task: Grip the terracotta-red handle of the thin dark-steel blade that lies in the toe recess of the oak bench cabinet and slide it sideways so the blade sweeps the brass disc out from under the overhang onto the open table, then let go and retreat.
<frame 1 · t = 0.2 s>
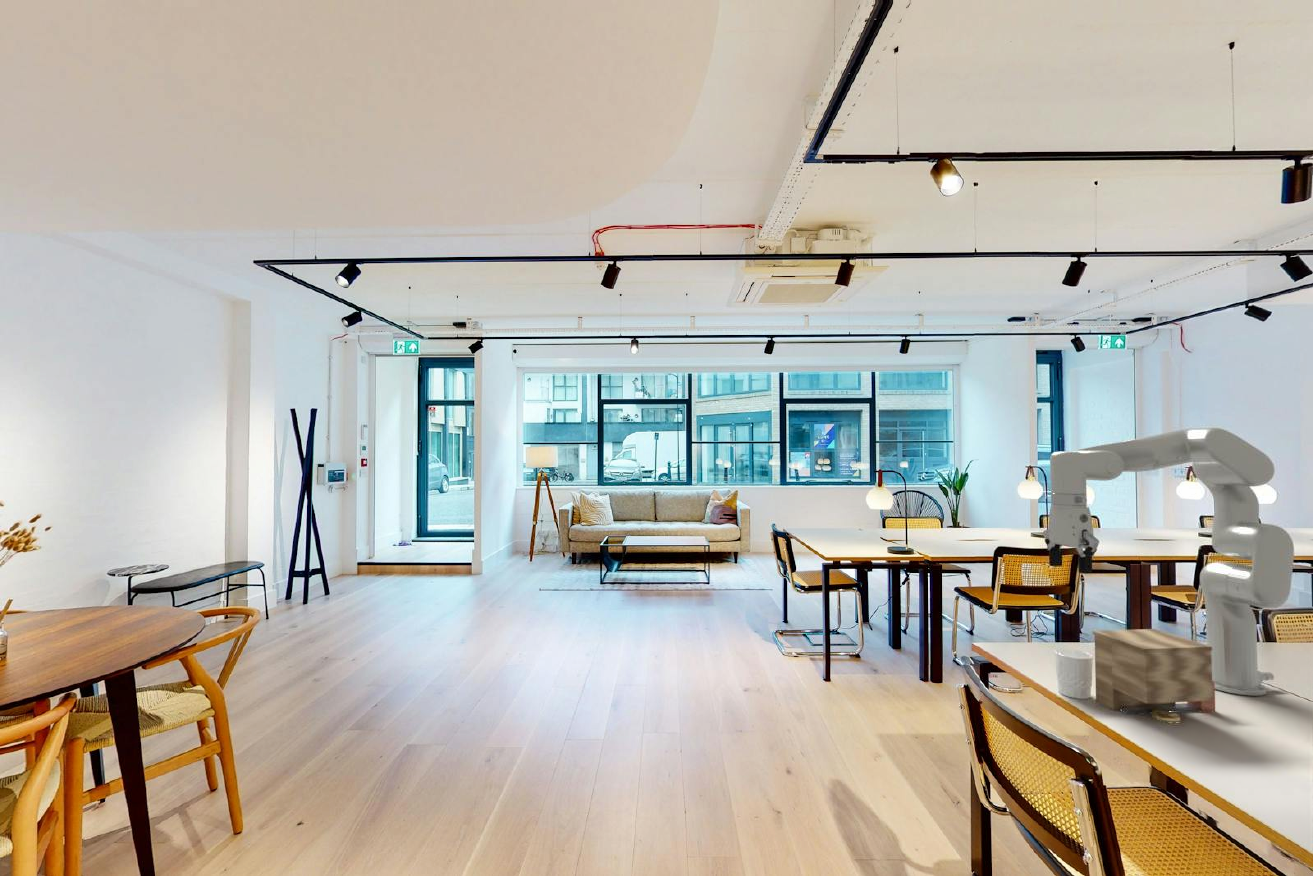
hand: (1070, 569, 157), 31 cm above the table, tool pointing down, fingers open, 9 cm apart
brass token: (1165, 719, 141), on the table
white cup: (1074, 695, 156), on the table
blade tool: (1201, 708, 147), on the table
oak bench cabinet: (1152, 712, 145), on the table
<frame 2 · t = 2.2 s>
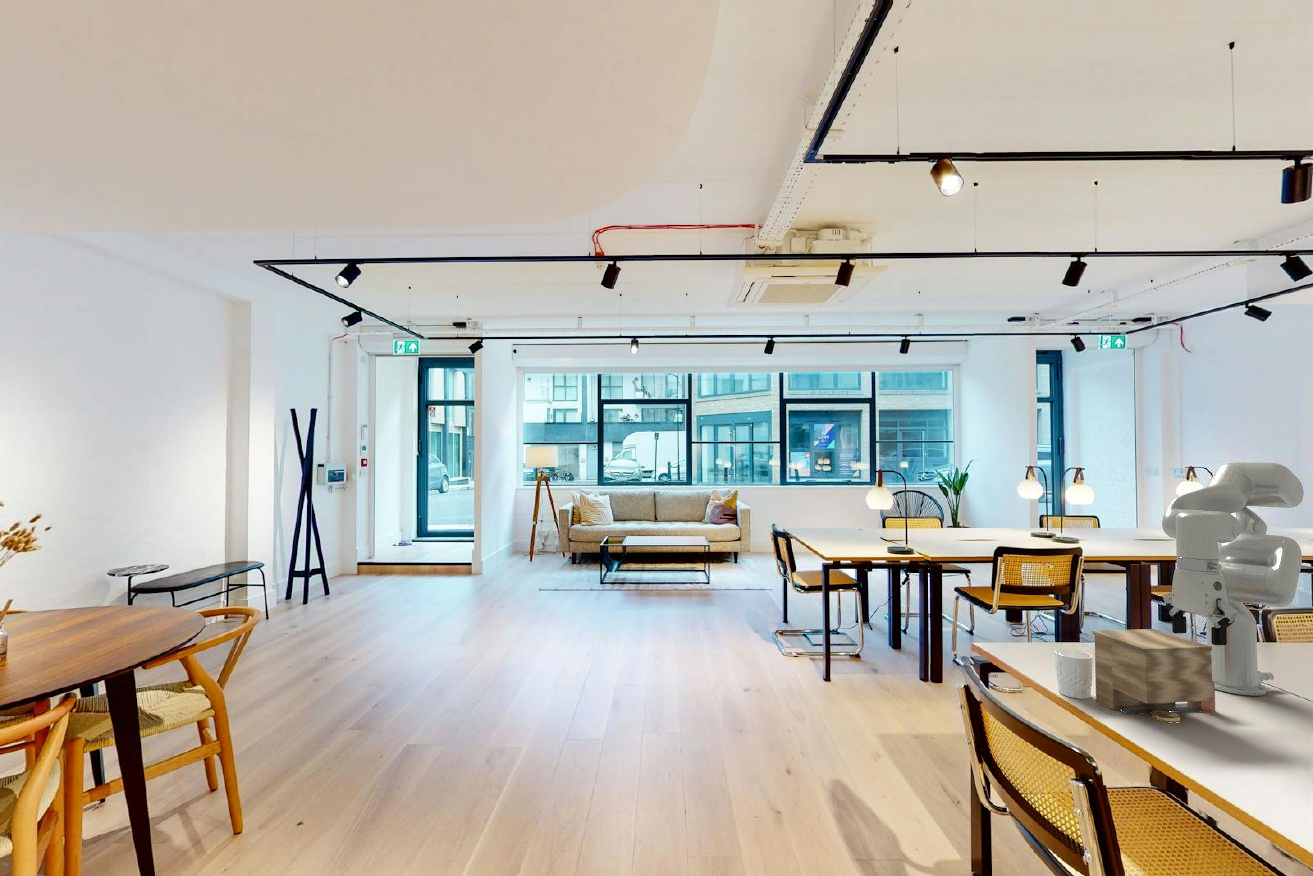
hand: (1198, 638, 147), 16 cm above the table, tool pointing down, fingers open, 9 cm apart
nothing on the table moved.
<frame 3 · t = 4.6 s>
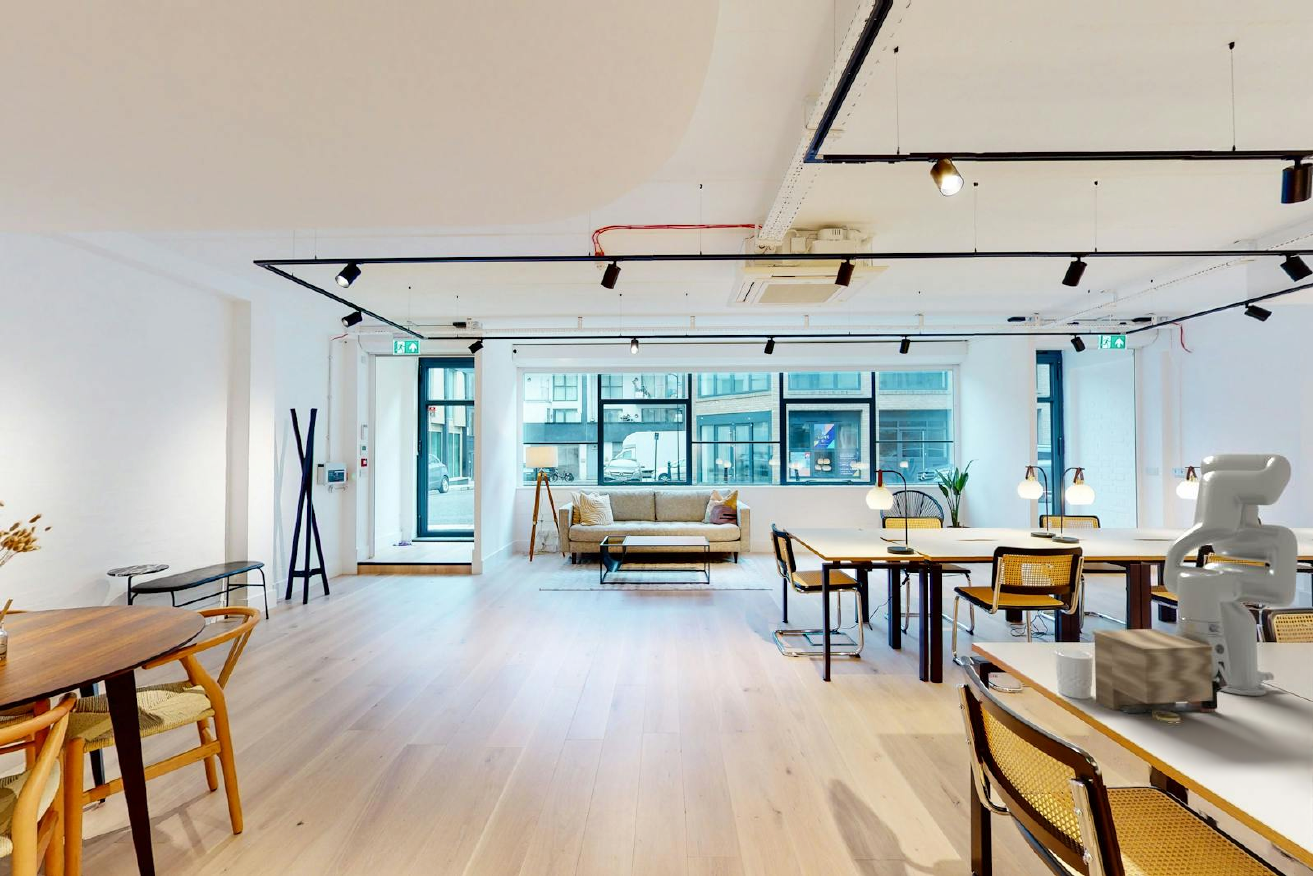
hand: (1201, 704, 147), 1 cm above the table, tool pointing down, fingers closed on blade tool, 3 cm apart
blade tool: (1201, 708, 147), on the table, touching gripper
everything else where it was.
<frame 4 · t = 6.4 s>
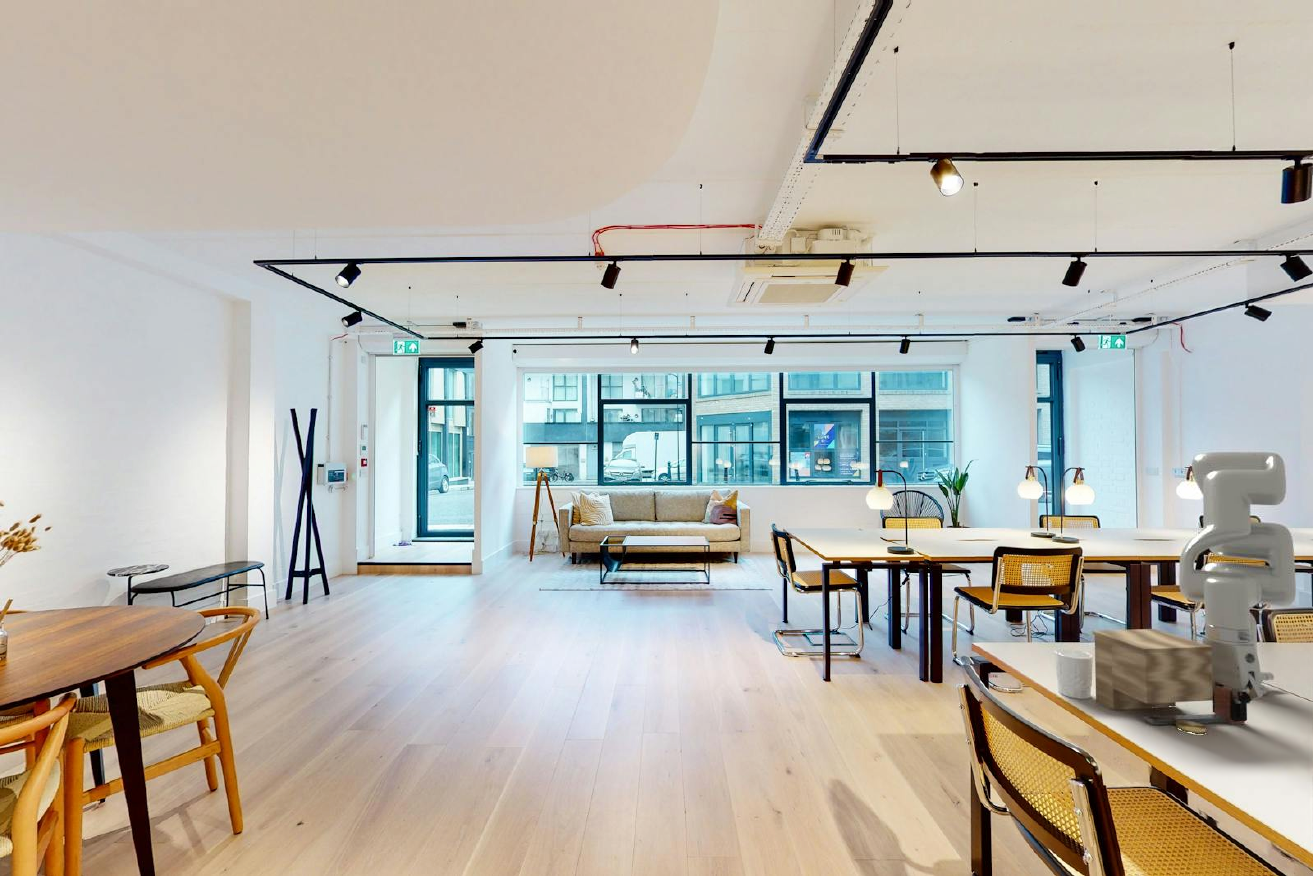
hand: (1229, 715, 140), 1 cm above the table, tool pointing down, fingers closed on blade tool, 3 cm apart
brass token: (1190, 730, 135), on the table, touching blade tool
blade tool: (1229, 720, 140), on the table, touching brass token, gripper
everything else where it was.
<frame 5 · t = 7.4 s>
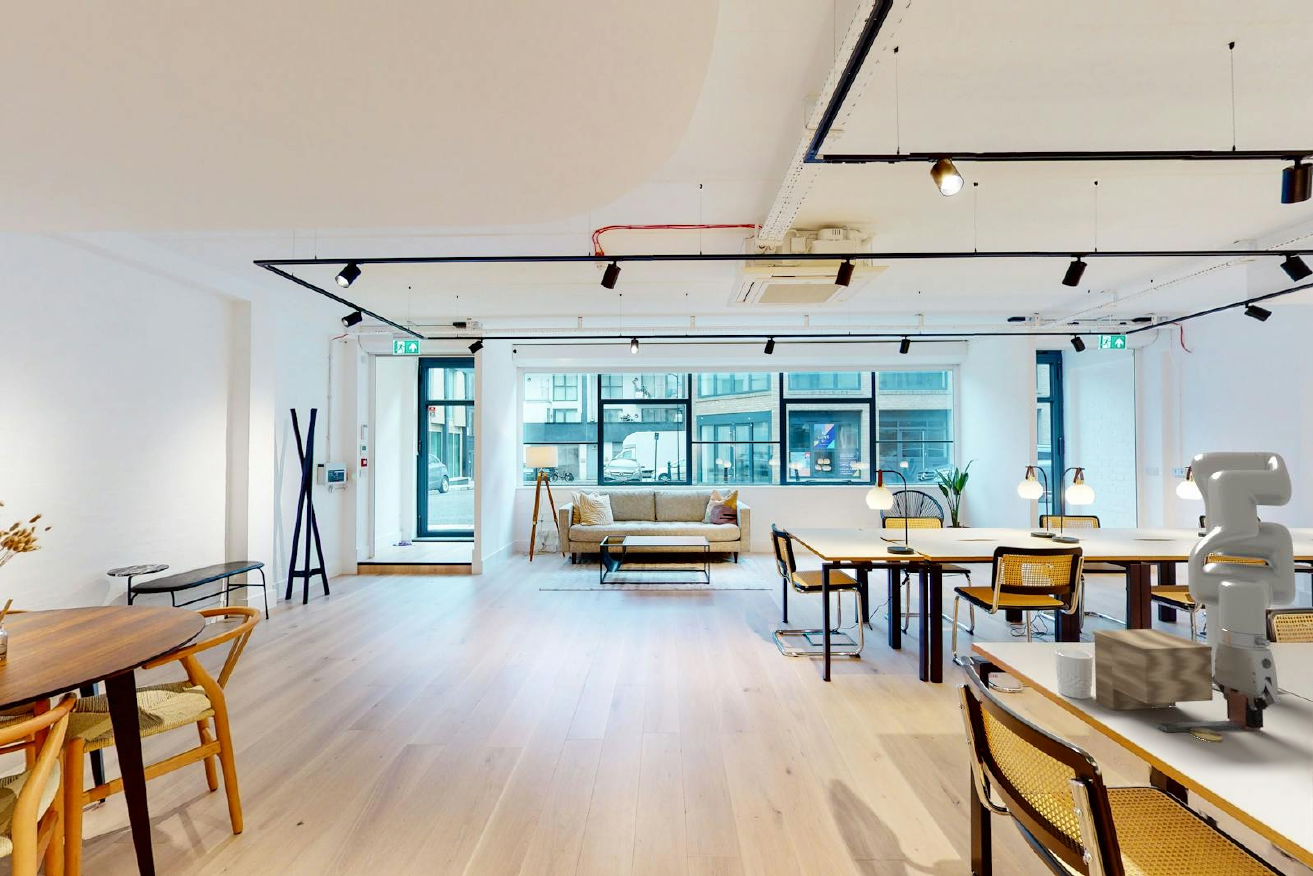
hand: (1244, 722, 137), 1 cm above the table, tool pointing down, fingers closed on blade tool, 3 cm apart
brass token: (1206, 738, 132), on the table
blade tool: (1244, 727, 137), on the table, touching gripper
everything else where it was.
when the fingers open (1 cm above the table, at t = 8.4 s): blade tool stays where it is, on the table.
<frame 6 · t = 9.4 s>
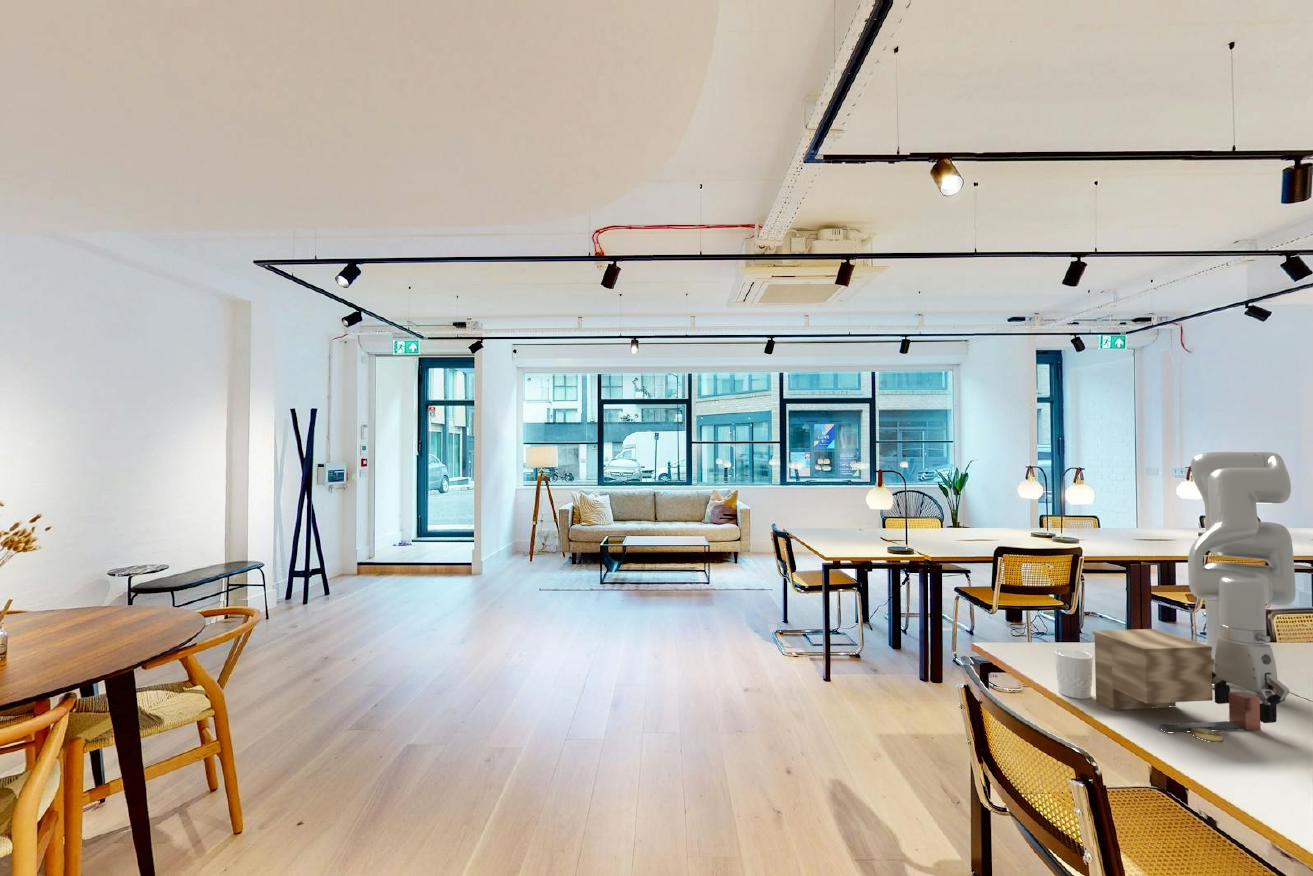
hand: (1244, 712, 137), 3 cm above the table, tool pointing down, fingers open, 9 cm apart
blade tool: (1244, 727, 137), on the table
everything else where it was.
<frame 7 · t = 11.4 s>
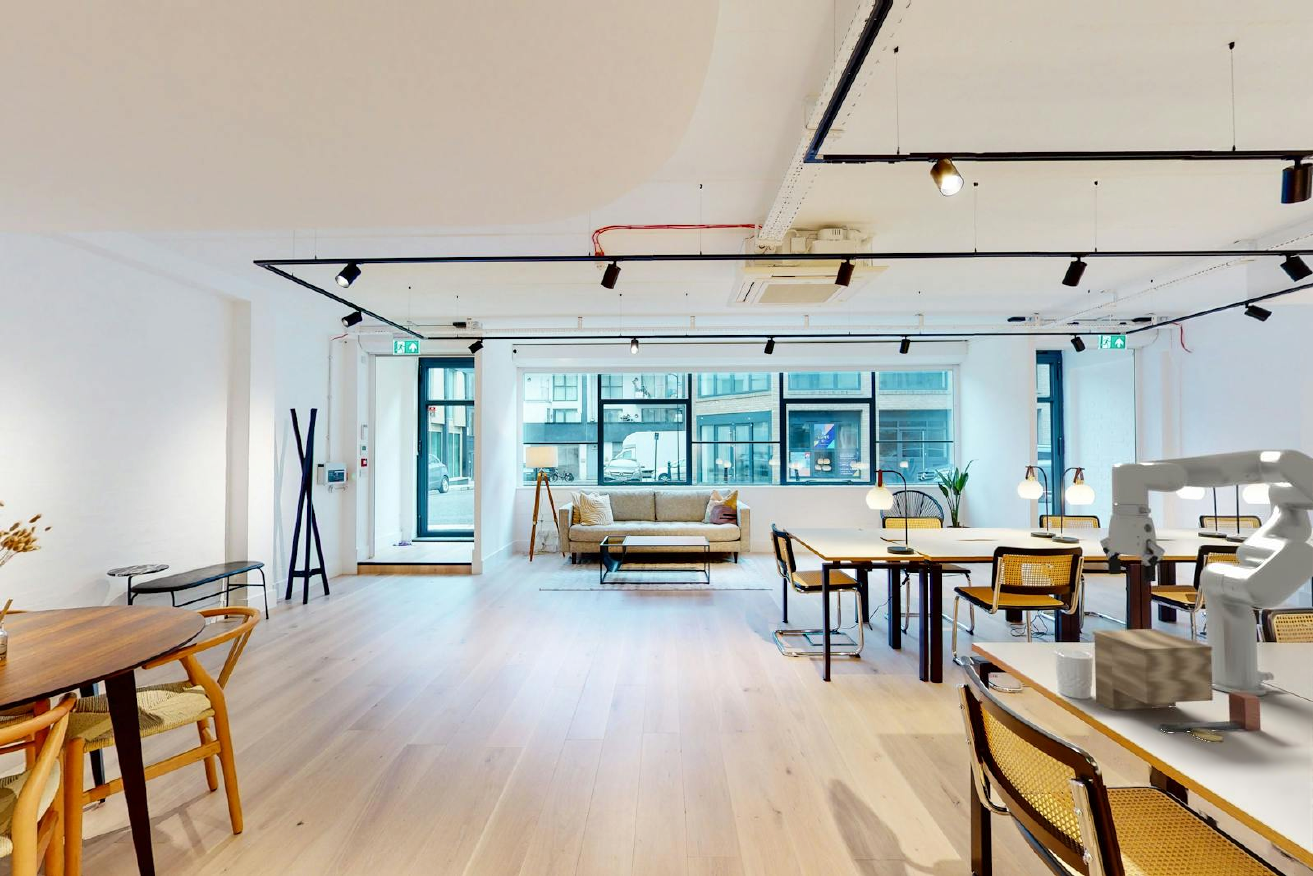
hand: (1131, 577, 162), 28 cm above the table, tool pointing down, fingers open, 9 cm apart
nothing on the table moved.
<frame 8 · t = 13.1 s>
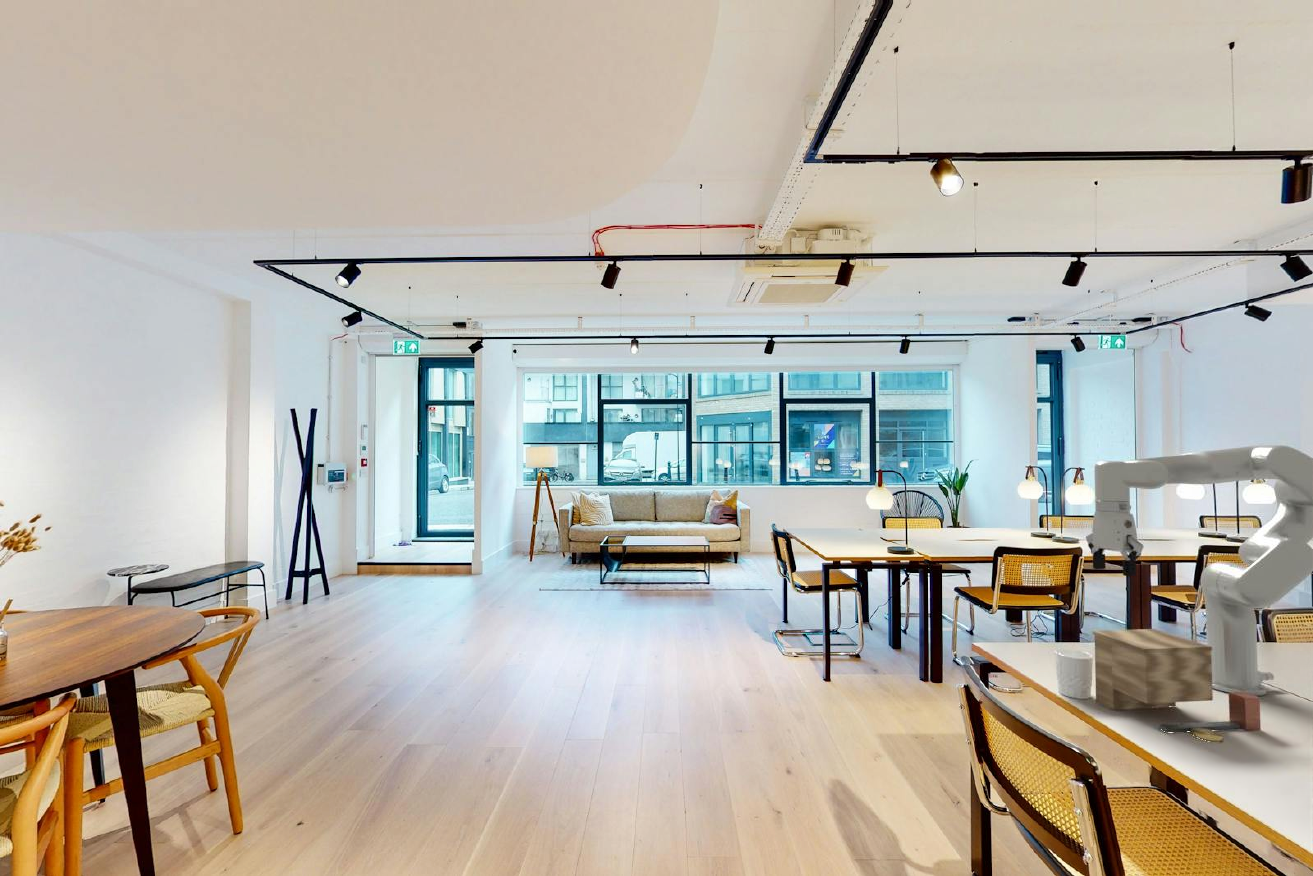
hand: (1113, 572, 166), 28 cm above the table, tool pointing down, fingers open, 9 cm apart
nothing on the table moved.
at the end: brass token inside the target area (4.9 cm from its centre), on the table; brass token moved 9.5 cm from its start; the gripper is holding nothing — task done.
